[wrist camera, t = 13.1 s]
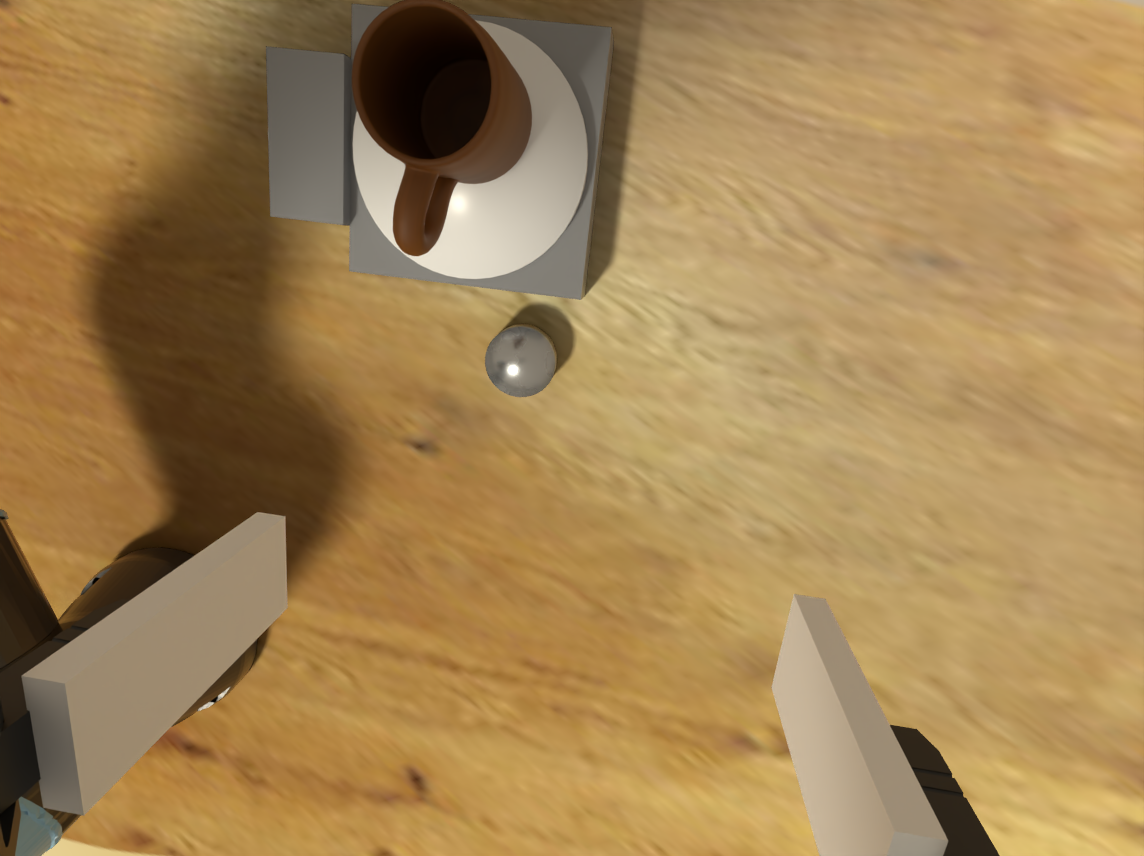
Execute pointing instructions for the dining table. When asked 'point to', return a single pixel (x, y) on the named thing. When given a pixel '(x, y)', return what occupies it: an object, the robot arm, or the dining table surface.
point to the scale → (476, 211)
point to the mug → (437, 109)
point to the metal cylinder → (521, 360)
